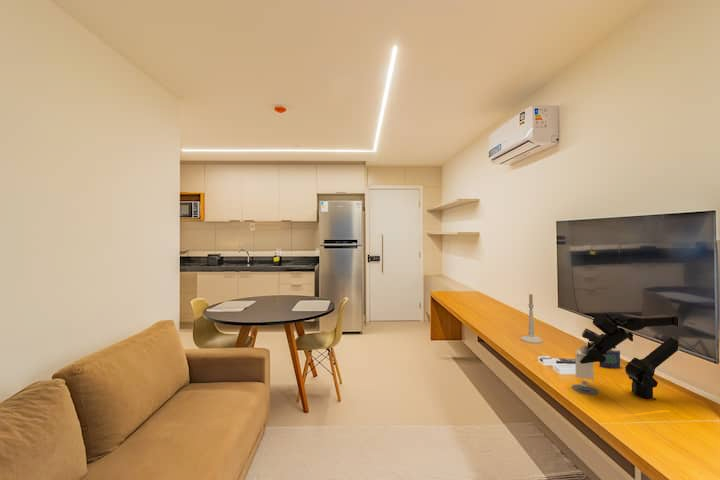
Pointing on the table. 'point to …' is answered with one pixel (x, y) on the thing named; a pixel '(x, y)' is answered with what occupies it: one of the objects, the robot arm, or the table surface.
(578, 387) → the gray disc
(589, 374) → the rubber stamp
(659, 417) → the table surface
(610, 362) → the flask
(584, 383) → the stud
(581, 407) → the table surface
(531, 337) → the candlestick
